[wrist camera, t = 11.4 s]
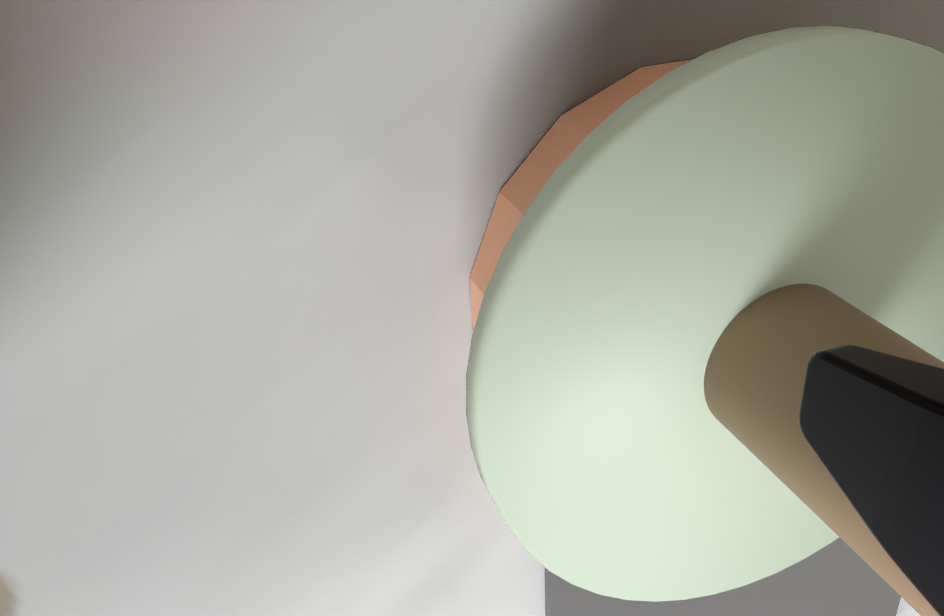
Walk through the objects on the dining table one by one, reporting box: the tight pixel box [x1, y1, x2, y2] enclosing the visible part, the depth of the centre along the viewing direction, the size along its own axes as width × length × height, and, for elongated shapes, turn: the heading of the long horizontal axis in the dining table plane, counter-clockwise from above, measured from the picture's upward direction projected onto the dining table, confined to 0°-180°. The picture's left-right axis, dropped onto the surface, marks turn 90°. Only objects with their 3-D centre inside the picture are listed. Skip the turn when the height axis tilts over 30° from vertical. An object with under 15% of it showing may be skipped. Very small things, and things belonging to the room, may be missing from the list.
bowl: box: [470, 59, 693, 331], centre depth 23 cm, size 12×12×4 cm
